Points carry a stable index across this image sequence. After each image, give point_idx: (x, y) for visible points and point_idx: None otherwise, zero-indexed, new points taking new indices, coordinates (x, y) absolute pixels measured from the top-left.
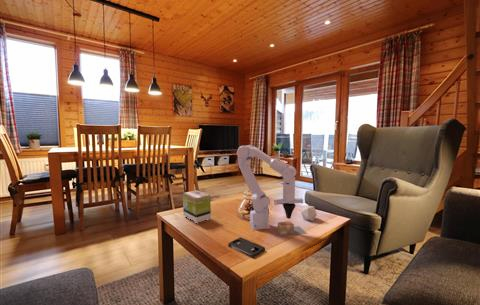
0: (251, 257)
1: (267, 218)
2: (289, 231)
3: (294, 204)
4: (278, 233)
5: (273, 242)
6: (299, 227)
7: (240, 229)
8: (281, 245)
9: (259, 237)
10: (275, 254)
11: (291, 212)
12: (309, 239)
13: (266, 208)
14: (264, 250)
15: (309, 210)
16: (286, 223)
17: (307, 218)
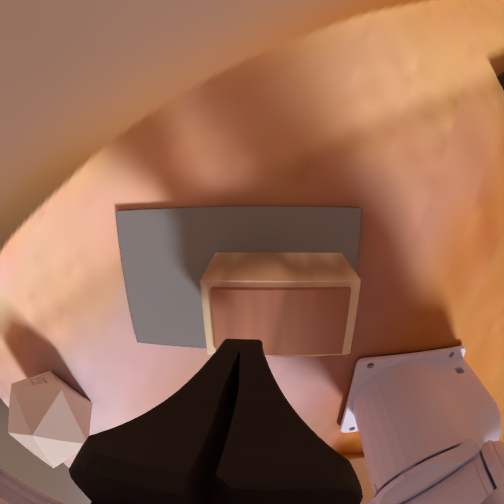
0: None
1: (394, 419)
2: (257, 257)
3: (90, 493)
4: (352, 266)
5: (436, 145)
6: (139, 323)
7: (499, 360)
8: (399, 84)
9: (481, 246)
10: (454, 17)
11: (199, 385)
12: (140, 124)
13: (409, 493)
14: (501, 74)
15: (32, 420)
16: (275, 316)
17: (66, 390)
